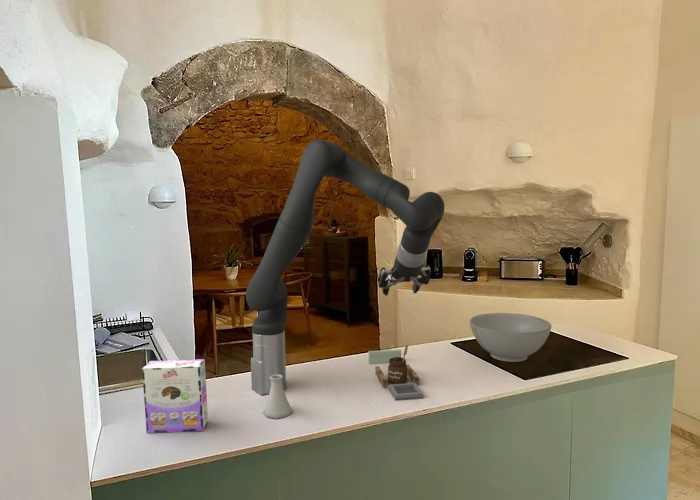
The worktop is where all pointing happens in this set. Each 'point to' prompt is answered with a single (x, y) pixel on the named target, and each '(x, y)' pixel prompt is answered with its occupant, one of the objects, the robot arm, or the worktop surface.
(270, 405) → the flask
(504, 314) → the decorative bowl
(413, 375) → the channel
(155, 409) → the candy box
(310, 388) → the worktop surface
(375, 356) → the end stop
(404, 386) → the grey flat square tray
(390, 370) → the brown jar with stick
